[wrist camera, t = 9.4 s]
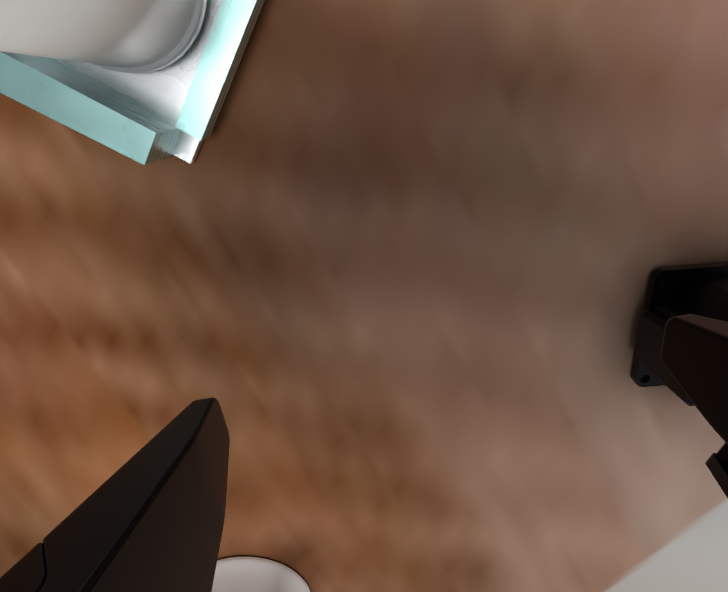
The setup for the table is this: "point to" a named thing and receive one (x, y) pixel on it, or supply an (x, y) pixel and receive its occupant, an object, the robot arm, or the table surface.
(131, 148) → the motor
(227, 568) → the mug
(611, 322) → the table surface
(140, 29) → the white cylinder
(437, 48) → the table surface
